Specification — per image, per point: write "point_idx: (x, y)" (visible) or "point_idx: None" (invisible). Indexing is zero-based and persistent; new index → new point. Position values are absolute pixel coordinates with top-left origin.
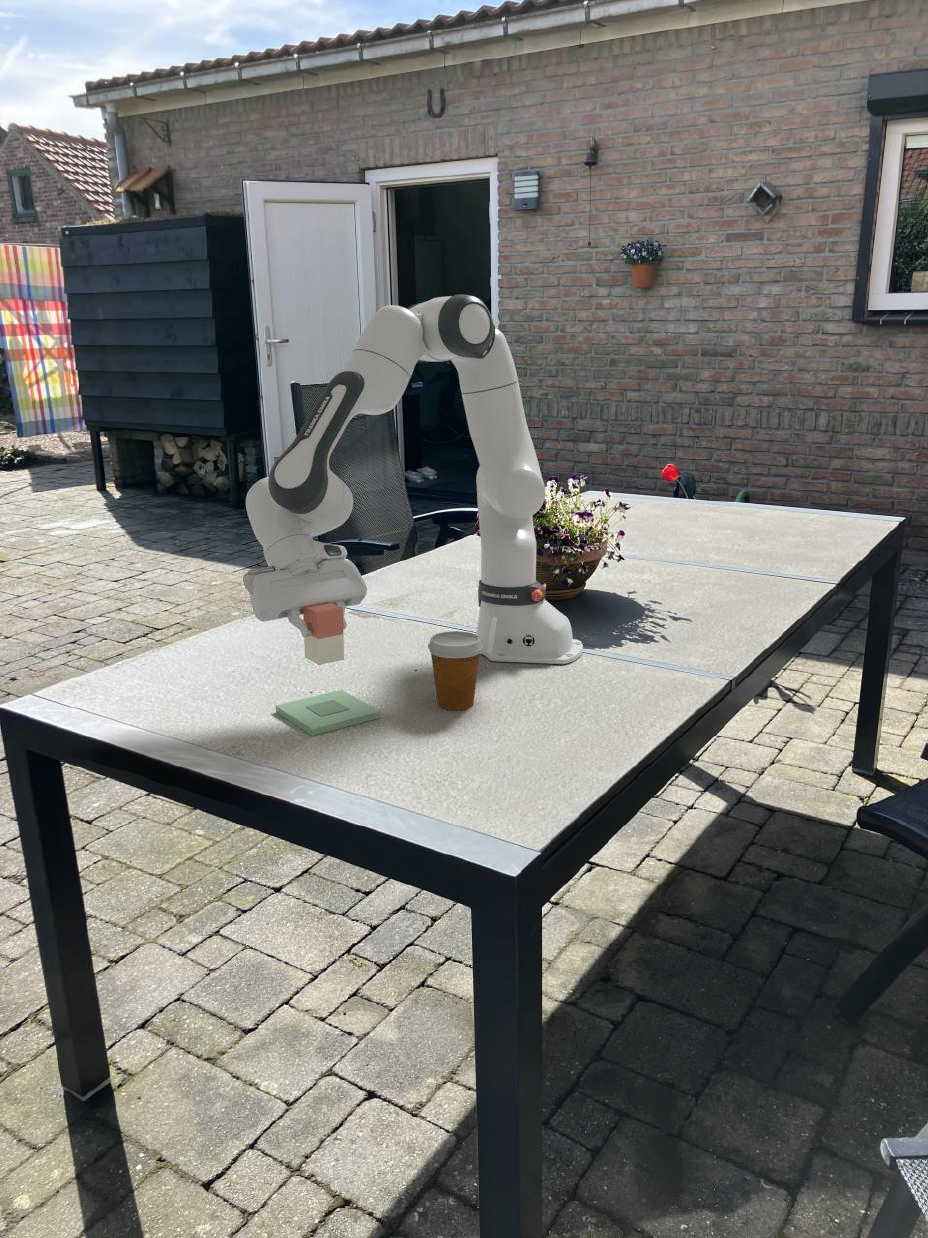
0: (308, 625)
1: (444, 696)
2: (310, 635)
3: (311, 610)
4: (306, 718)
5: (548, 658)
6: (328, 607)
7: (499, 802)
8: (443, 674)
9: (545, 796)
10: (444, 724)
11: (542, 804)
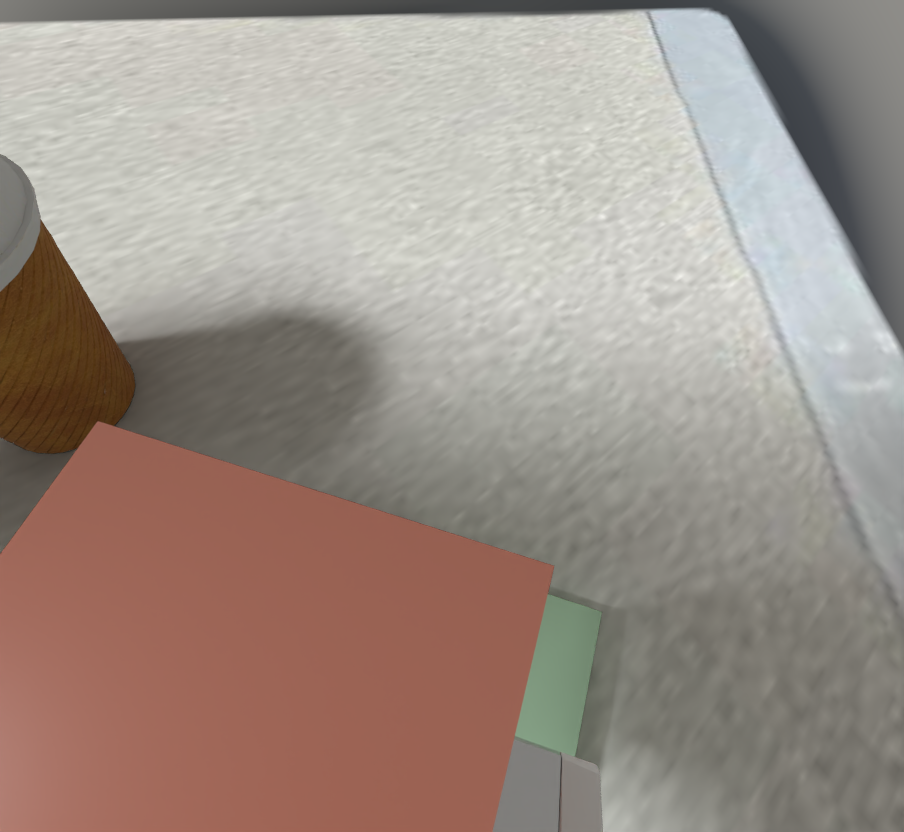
0: (529, 812)
1: (114, 369)
2: None
3: (493, 812)
4: (539, 724)
5: None
6: (157, 639)
7: (559, 88)
8: (71, 308)
9: (486, 56)
10: (258, 335)
11: (515, 49)
